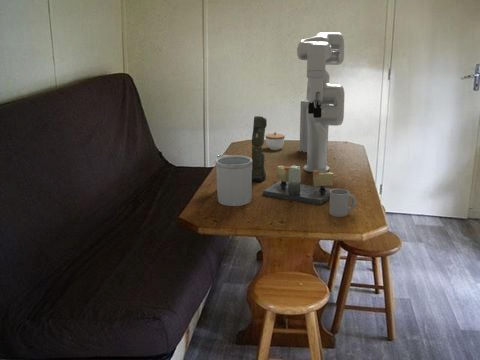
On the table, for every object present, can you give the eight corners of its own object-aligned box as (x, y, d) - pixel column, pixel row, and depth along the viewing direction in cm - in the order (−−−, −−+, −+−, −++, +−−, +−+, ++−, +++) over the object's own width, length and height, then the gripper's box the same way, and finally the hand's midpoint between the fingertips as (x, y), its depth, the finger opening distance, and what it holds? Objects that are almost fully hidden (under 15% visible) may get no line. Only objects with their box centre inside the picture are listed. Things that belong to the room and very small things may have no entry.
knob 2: (330, 187, 238) (331, 169, 235) (332, 189, 235) (333, 170, 233) (312, 188, 236) (313, 170, 234) (314, 190, 234) (315, 171, 231)
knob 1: (276, 181, 247) (277, 163, 245) (282, 180, 248) (282, 162, 246) (284, 186, 240) (285, 167, 238) (290, 185, 241) (290, 167, 239)
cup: (327, 210, 218) (328, 188, 215) (353, 210, 218) (355, 188, 215) (330, 217, 211) (331, 194, 208) (357, 217, 211) (358, 194, 208)
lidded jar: (275, 152, 310) (275, 135, 307) (261, 148, 317) (261, 132, 314) (288, 148, 317) (288, 132, 314) (274, 145, 324) (274, 129, 321)
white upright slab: (301, 146, 322) (302, 97, 314) (327, 147, 319) (329, 98, 310) (297, 154, 304) (298, 102, 296) (325, 155, 301) (327, 103, 293)
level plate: (279, 185, 250) (279, 156, 246) (334, 193, 238) (336, 163, 234) (262, 195, 237) (263, 164, 233) (320, 204, 224) (322, 172, 221)
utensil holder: (240, 209, 220) (239, 166, 215) (209, 203, 228) (208, 161, 223) (259, 198, 232) (259, 157, 227) (229, 193, 240) (228, 153, 235)
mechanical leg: (262, 183, 250) (265, 115, 249) (246, 182, 252) (249, 115, 250) (267, 181, 264) (270, 117, 262) (252, 181, 265) (254, 117, 263)
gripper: (302, 72, 238) (301, 112, 243) (311, 76, 222) (310, 119, 227) (319, 71, 239) (318, 111, 244) (330, 76, 223) (328, 119, 228)
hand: (314, 115), depth 235 cm, fingers open, 9 cm apart
